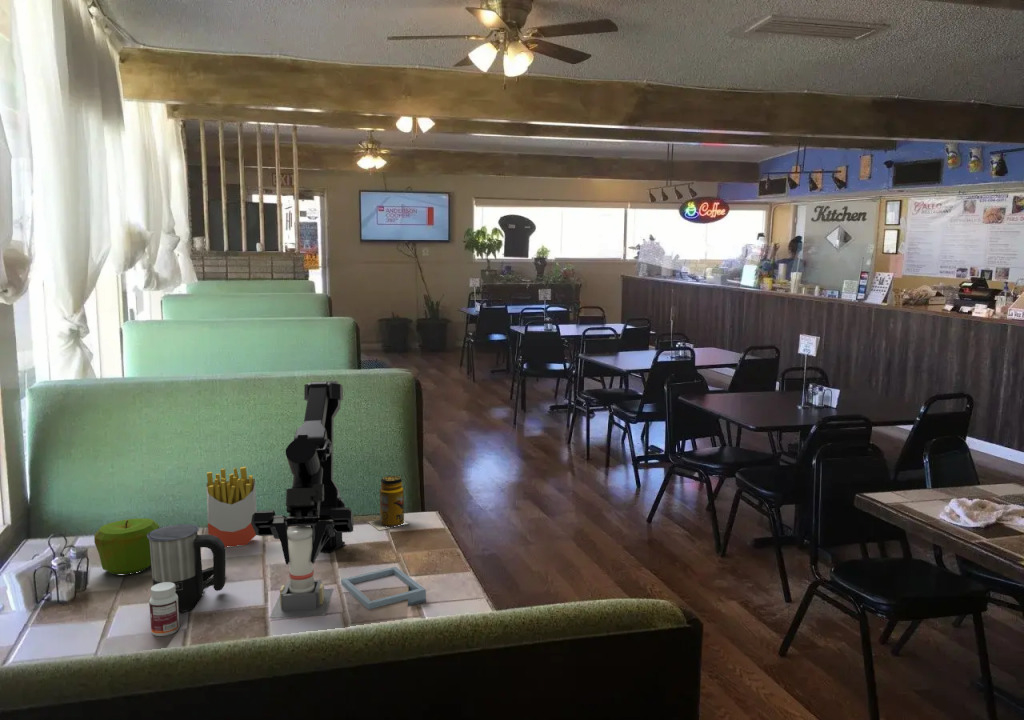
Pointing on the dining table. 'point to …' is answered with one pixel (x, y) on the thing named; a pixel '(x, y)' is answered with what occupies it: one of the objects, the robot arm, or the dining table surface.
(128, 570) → the apple
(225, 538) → the french fries container
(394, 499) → the condiment
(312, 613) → the fuse holder
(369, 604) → the tray
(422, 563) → the dining table surface
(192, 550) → the milk frother
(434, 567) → the dining table surface
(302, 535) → the cylinder
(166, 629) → the pill bottle
